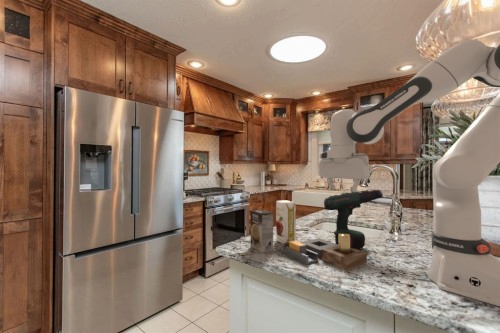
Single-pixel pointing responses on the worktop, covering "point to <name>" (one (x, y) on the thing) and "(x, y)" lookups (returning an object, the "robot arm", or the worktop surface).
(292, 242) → the orange rectangular block
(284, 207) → the juice carton
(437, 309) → the worktop surface
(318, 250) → the socket block
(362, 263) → the brown wooden box
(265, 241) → the coffee box
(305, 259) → the rail
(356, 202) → the power drill
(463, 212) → the robot arm
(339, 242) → the brass peg
